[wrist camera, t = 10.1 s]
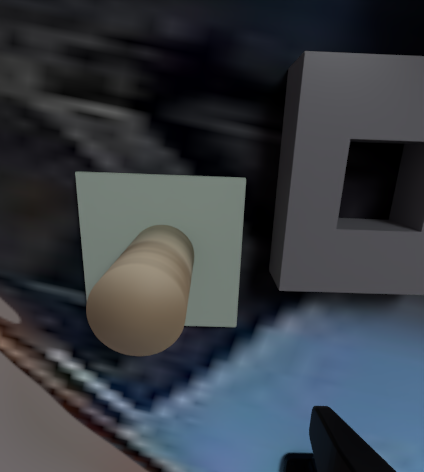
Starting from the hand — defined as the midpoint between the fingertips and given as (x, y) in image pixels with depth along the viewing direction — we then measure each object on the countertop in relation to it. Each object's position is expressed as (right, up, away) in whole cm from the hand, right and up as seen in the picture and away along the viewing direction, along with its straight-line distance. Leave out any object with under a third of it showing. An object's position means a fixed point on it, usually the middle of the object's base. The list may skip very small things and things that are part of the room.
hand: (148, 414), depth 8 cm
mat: (-1, +4, +11) cm, 12 cm away
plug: (-1, +4, +11) cm, 11 cm away
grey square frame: (+11, +8, +10) cm, 17 cm away
